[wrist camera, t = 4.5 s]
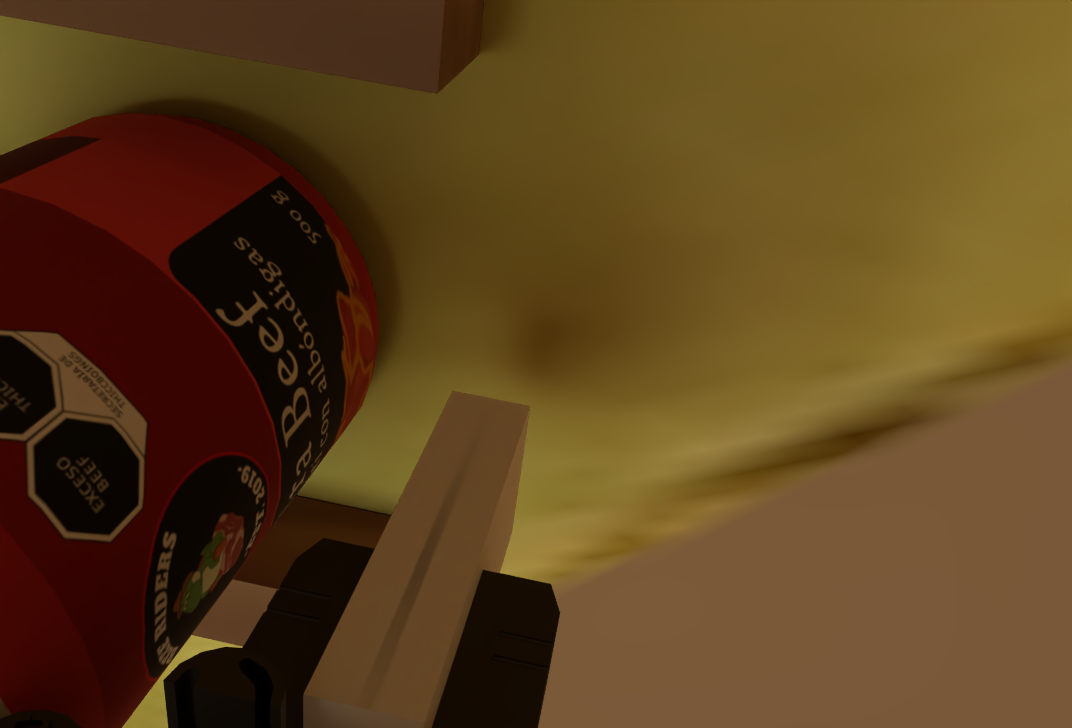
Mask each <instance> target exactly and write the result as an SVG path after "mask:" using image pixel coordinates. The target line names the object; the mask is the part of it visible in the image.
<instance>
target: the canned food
mask: <svg viewBox="0 0 1072 728" xmlns="http://www.w3.org/2000/svg"><path fill="white" fill-rule="evenodd" d="M378 333H379V320H378V312H377V304H376V296H375V292H374V289H373V285H372V282H371V279H370V276H369V273H368V270H367V267H366V264H365V261H364V259H363V257H362V255H361V253H360V252H359V250H358V248H357V246H356V244H355V242H354V240H353V238H352V236H351V235H350V233H349V231H348V229H347V227H346V226H345V225H344V223H343V222H342V221H341V219H340V218H339V217H338V215H337V214H336V213H335V211H334V210H333V209H332V207H331V206H330V205H329V203H328V202H327V201H326V199H325V198H324V197H323V196H322V195H321V194H320V193H319V192H318V191H317V190H316V189H315V188H314V187H313V186H312V185H311V184H310V183H309V182H308V181H307V180H306V179H305V178H304V177H303V176H302V175H301V174H300V173H299V172H298V171H297V170H295V169H294V168H293V167H292V166H290V165H289V164H287V163H286V162H285V161H283V160H282V159H280V158H279V157H278V156H276V155H275V154H273V153H272V152H271V151H269V150H268V149H266V148H265V147H264V146H262V145H261V144H259V143H257V142H255V141H253V140H251V139H248V138H246V137H244V136H242V135H240V134H238V133H236V132H234V131H232V130H230V129H228V128H226V127H223V126H220V125H216V124H213V123H209V122H206V121H203V120H199V119H196V118H193V117H185V116H174V115H164V114H146V113H123V114H115V115H108V116H100V117H93V118H91V119H88V120H86V121H83V122H81V123H78V124H76V125H73V126H71V127H69V128H66V129H64V130H61V131H59V132H56V133H54V134H52V135H49V136H47V137H44V138H42V139H39V140H37V141H35V142H32V143H30V144H27V145H25V146H22V147H20V148H17V149H15V150H13V151H10V152H8V153H5V154H3V155H0V718H3V717H6V716H9V715H12V714H15V713H18V712H21V711H31V710H51V711H54V712H58V713H61V714H65V715H68V716H70V717H71V718H72V719H73V720H74V721H75V722H76V723H77V724H78V725H79V726H80V727H81V728H122V727H123V725H124V724H125V723H126V721H127V720H128V719H129V717H130V716H131V715H132V713H133V712H134V711H135V709H136V708H137V707H138V705H139V704H140V703H141V701H142V700H143V699H144V697H145V696H146V695H147V693H148V692H149V691H150V689H151V688H152V687H153V685H154V684H155V683H156V681H157V680H158V679H159V677H160V676H161V675H162V673H163V672H164V671H165V669H166V668H167V667H168V665H169V664H170V663H171V661H172V660H173V659H174V657H175V656H176V655H177V653H178V652H179V651H180V649H181V648H182V647H183V645H184V644H185V643H186V641H187V640H188V639H189V637H190V636H191V635H192V633H193V632H194V631H195V629H196V628H197V627H198V625H199V624H200V623H201V621H202V620H203V619H204V617H205V616H206V615H207V613H208V612H209V611H210V609H211V608H212V607H213V605H214V604H215V603H216V601H217V600H218V598H219V597H220V596H221V594H222V593H223V592H224V590H225V589H226V588H227V586H228V585H229V584H230V582H231V581H232V580H233V578H234V577H235V576H236V574H237V573H238V572H239V570H240V569H241V568H242V566H243V565H244V564H245V562H246V561H247V560H248V558H249V557H250V556H251V554H252V553H253V552H254V550H255V549H256V548H257V546H258V545H259V544H260V542H261V541H262V540H263V538H264V537H265V536H266V534H267V533H268V532H269V530H270V529H271V528H272V526H273V525H274V524H275V522H276V521H277V520H278V518H279V517H280V516H281V514H282V513H283V512H284V510H285V509H286V508H287V506H288V505H289V504H290V502H291V501H292V500H293V498H294V497H295V496H296V494H297V493H298V492H299V490H300V489H301V488H302V486H303V485H304V484H305V482H306V481H307V480H308V478H309V477H310V476H311V474H312V473H313V472H314V470H315V469H316V468H317V466H318V465H319V464H320V462H321V461H322V460H323V458H324V457H325V456H326V454H327V453H328V451H329V450H330V449H331V447H332V446H333V445H334V443H335V442H336V441H337V439H338V438H339V437H340V435H341V434H342V433H343V431H344V430H345V429H346V427H347V426H348V425H349V423H350V422H351V420H352V419H353V417H354V416H355V415H356V413H357V412H358V410H359V409H360V408H361V406H362V404H363V401H364V399H365V396H366V393H367V390H368V387H369V385H370V382H371V379H372V374H373V369H374V364H375V359H376V354H377V344H378Z"/></svg>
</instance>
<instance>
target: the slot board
mask: <svg viewBox="0 0 1072 728" xmlns="http://www.w3.org/2000/svg"><path fill="white" fill-rule="evenodd" d="M483 7H484V0H0V15H1V16H7V17H12V18H18V19H24V20H29V21H35V22H40V23H46V24H51V25H57V26H63V27H68V28H74V29H79V30H85V31H90V32H96V33H102V34H107V35H113V36H118V37H124V38H129V39H135V40H141V41H146V42H152V43H157V44H163V45H168V46H174V47H180V48H185V49H191V50H196V51H202V52H207V53H213V54H219V55H224V56H230V57H235V58H241V59H246V60H252V61H258V62H263V63H269V64H274V65H280V66H285V67H291V68H297V69H302V70H308V71H313V72H319V73H324V74H330V75H336V76H341V77H347V78H352V79H358V80H363V81H369V82H375V83H380V84H386V85H391V86H397V87H402V88H408V89H414V90H419V91H425V92H430V93H436V94H438V93H439V92H440V91H441V90H442V89H443V88H444V87H445V86H446V85H447V84H448V83H449V82H450V81H451V80H452V79H453V78H455V77H456V76H457V75H458V74H459V73H460V72H461V71H462V70H463V69H464V68H465V67H466V66H467V65H468V64H469V63H470V62H471V61H472V60H474V59H475V58H476V57H477V56H478V55H479V47H480V37H481V27H482V17H483ZM390 517H391V516H388V515H383V514H379V513H374V512H369V511H365V510H360V509H355V508H350V507H346V506H341V505H336V504H331V503H327V502H322V501H317V500H312V499H308V498H303V497H298V496H295V497H294V498H293V500H292V501H291V502H290V504H289V505H288V506H287V508H286V509H285V510H284V512H283V513H282V514H281V516H280V517H279V518H278V520H277V521H276V522H275V524H274V525H273V526H272V528H271V529H270V530H269V532H268V533H267V534H266V536H265V537H264V538H263V540H262V541H261V542H260V544H259V545H258V546H257V548H256V549H255V550H254V552H253V553H252V554H251V556H250V557H249V558H248V560H247V561H246V562H245V564H244V565H243V566H242V568H241V569H240V570H239V572H238V573H237V574H236V576H235V577H234V578H233V580H232V581H231V582H230V584H229V585H228V586H227V588H226V589H225V590H224V592H223V593H222V594H221V596H220V597H219V598H218V600H217V601H216V603H215V604H214V605H213V607H212V608H211V609H210V611H209V612H208V613H207V615H206V616H205V617H204V619H203V620H202V621H201V623H200V624H199V625H198V627H197V628H196V629H195V631H194V632H193V633H192V635H194V636H199V637H203V638H208V639H212V640H217V641H221V642H226V643H230V644H235V645H239V646H244V644H245V642H246V641H247V639H248V637H249V636H250V634H251V632H252V631H253V629H254V627H255V626H256V624H257V622H258V621H259V619H260V617H261V616H262V614H263V612H266V610H267V606H268V604H269V602H270V601H271V599H272V597H273V596H274V594H275V592H276V591H277V590H279V588H280V584H281V582H282V581H283V579H284V577H285V576H286V574H287V572H288V571H289V569H290V567H291V566H292V564H293V562H294V561H295V559H296V558H297V557H298V556H300V555H301V554H302V553H304V552H305V551H306V550H308V549H309V548H310V547H312V546H313V545H315V544H316V543H317V542H319V541H320V540H321V539H323V538H327V539H332V540H337V541H341V542H346V543H351V544H355V545H360V546H365V547H369V548H374V549H375V548H376V546H377V544H378V542H379V540H380V538H381V536H382V534H383V532H384V529H385V527H386V525H387V523H388V521H389V519H390Z"/></svg>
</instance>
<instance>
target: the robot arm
mask: <svg viewBox="0 0 1072 728" xmlns="http://www.w3.org/2000/svg"><path fill="white" fill-rule="evenodd" d="M529 411H530V406H526V405H521V404H516V403H511V402H506V401H501V400H496V399H491V398H486V397H481V396H476V395H471V394H466V393H460V392H455V391H452V393H451V395H450V397H449V399H448V401H447V403H446V405H445V408H444V410H443V412H442V414H441V416H440V418H439V420H438V422H437V424H436V426H435V428H434V430H433V432H432V434H431V436H430V438H429V440H428V442H427V444H426V446H425V448H424V450H423V452H422V454H421V456H420V458H419V460H418V462H417V464H416V466H415V469H414V471H413V473H412V475H411V477H410V479H409V481H408V483H407V485H406V487H405V489H404V491H403V493H402V495H401V497H400V499H399V501H398V503H397V505H396V507H395V509H394V511H393V513H392V515H391V517H390V519H389V521H388V523H387V525H386V527H385V529H384V532H383V534H382V536H381V538H380V540H379V542H378V544H377V546H376V548H375V549H374V548H369V547H365V546H360V545H355V544H351V543H346V542H341V541H337V540H332V539H327V538H323V539H321V540H320V541H319V542H317V543H316V544H315V545H313V546H312V547H310V548H309V549H308V550H306V551H305V552H304V553H302V554H301V555H300V556H298V557H297V558H296V559H295V561H294V562H293V564H292V566H291V567H290V569H289V571H288V572H287V574H286V576H285V577H284V579H283V581H282V582H281V584H280V588H279V590H277V591H276V592H275V594H274V596H273V597H272V599H271V601H270V602H269V604H268V606H267V610H266V612H263V614H262V616H261V617H260V619H259V621H258V622H257V624H256V626H255V627H254V629H253V631H252V632H251V634H250V636H249V637H248V639H247V641H246V642H245V644H244V646H243V648H234V647H223V648H218V649H214V650H209V651H205V652H201V653H199V654H197V655H195V656H193V657H191V658H190V659H188V660H186V661H184V662H182V663H180V664H179V665H178V666H177V667H176V668H175V669H174V670H173V671H172V672H171V673H170V674H169V675H168V676H167V677H166V678H165V679H164V680H163V681H164V691H165V700H166V709H167V719H168V728H538V724H539V720H540V715H541V710H542V705H543V700H544V694H545V690H546V685H547V679H548V674H549V669H550V664H551V658H552V652H553V648H554V642H555V637H556V632H557V627H558V621H559V615H560V611H559V608H558V605H557V602H556V599H555V595H554V592H553V589H552V586H551V584H548V583H543V582H539V581H534V580H529V579H525V578H520V577H515V576H511V575H506V574H501V573H500V570H501V567H502V563H503V560H504V557H505V553H506V550H507V547H508V543H509V540H510V537H511V533H512V528H513V521H514V514H515V507H516V501H517V494H518V487H519V480H520V473H521V466H522V459H523V452H524V445H525V439H526V432H527V425H528V418H529ZM0 728H81V727H80V726H79V725H78V724H77V723H76V722H75V721H74V720H73V719H72V718H71V717H70V716H68V715H65V714H61V713H58V712H54V711H51V710H31V711H21V712H18V713H15V714H12V715H9V716H6V717H3V718H0Z"/></svg>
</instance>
